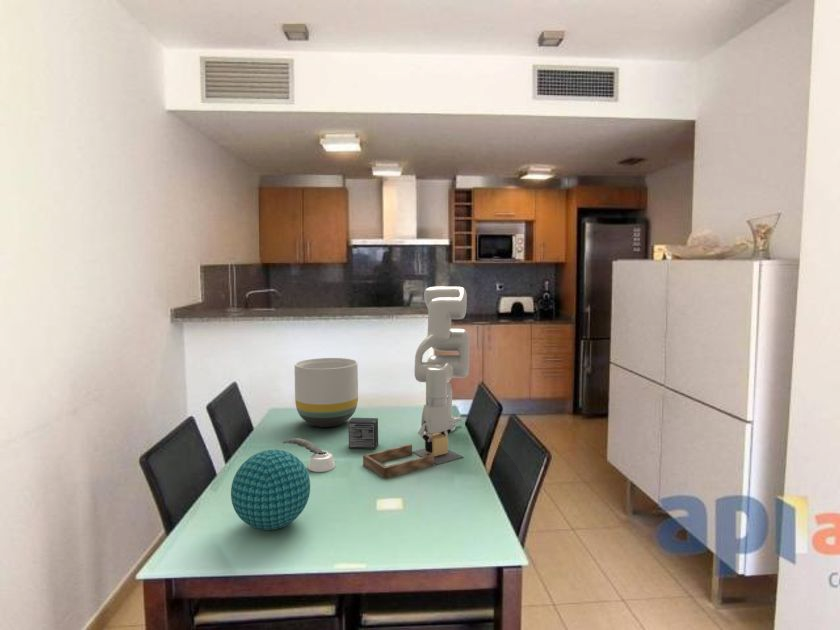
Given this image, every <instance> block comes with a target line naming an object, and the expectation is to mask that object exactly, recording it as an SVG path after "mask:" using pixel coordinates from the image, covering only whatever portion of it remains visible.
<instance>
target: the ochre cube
mask: <svg viewBox="0 0 840 630" xmlns="http://www.w3.org/2000/svg"><path fill="white" fill-rule="evenodd" d="M428 436H429V435H428ZM431 442H432V452H431V453H430V452H428V451H426V449H425V452H427V453H429V454H431V455H434V456H438V455H442V454H446V453H448V450H449V437H448V436H445V435H443V434H441V433H434V434H433V435H432V439H431Z"/></svg>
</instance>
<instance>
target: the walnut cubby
mask: <svg viewBox="0 0 840 630" xmlns="http://www.w3.org/2000/svg"><path fill="white" fill-rule="evenodd" d="M412 451H413V445H412V444H410V443H409V444H405V445H400V446H397V447H391V448H388V449H385V450H379V451H375V452H371V453H367V454H366V453H365V454H363V455H362V465H363V466H364V467H365V468H367V469H368V468H369V470H370V471H372V472H373V473H375V474H377V475H378V476H380V477H381V478H383V479H384V480H385V479H390V478H394V477H396V476H400V475H403V474H407V473H411V472H416V471H418V470H422V469H425V468H430V467H434V465H435V464H434V455H428V456H424V457H420V456H419V457H417V458H412V459H409V460H405V461H402V462H397V463H394V464H390V465H389V464H388V465H385V464H383V463H384V462H387V461H390V460H391V461H392V460H394V459H396V460H397V459H399V458H403V457H406V456H411V455H413V453H412ZM382 462H383V463H382Z"/></svg>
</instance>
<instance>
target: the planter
mask: <svg viewBox="0 0 840 630" xmlns="http://www.w3.org/2000/svg"><path fill="white" fill-rule="evenodd" d="M358 367H359V366H358V361H356V359H355V360H354V359H350V358H343V357H320V358H319V357H318V358H310V359H304V360H300V361H297V362H295V364H294V399H295V400H294V401H295V403H294V404H295V407H296V411H297V413H298V415H299V416H300V418H301V419H302V420H303V421H305V422H306V423H308V424H309V425H312V426H315V427H320V428H329V427H330V428H331V427H336V426H340V425H341V424H345V422H347V421H349V420H350V419H351V418H352V416H353V415H354V414H355V412H356V410H357V408H358V407H357V406H358V404H359V403H358V401H359V381H358V380H359V379H358V377H359V373H358V372H359V371H358Z"/></svg>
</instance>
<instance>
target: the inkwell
mask: <svg viewBox="0 0 840 630" xmlns="http://www.w3.org/2000/svg"><path fill="white" fill-rule="evenodd" d="M282 444H293V445H297V446H299V447H301V448H305V449H306V450H308V451H309V452H311V453H313V454H311V456H310V459H309V463H308V465H307V466H308V470H309V471H311V472H314V473H325V472H330V471H331V470H332V471H333V469H335V468H336V464H335V460H334V456H333V454H332V453H330V452H329V451H327V450H321V449H320V447H318V446H317V445H315V444H314V443H312V442H310V441H308V440H306V439H304V438H303V439H302V438H297V437H296V438H289V439H286V440H285V441H283V442H282Z"/></svg>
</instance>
